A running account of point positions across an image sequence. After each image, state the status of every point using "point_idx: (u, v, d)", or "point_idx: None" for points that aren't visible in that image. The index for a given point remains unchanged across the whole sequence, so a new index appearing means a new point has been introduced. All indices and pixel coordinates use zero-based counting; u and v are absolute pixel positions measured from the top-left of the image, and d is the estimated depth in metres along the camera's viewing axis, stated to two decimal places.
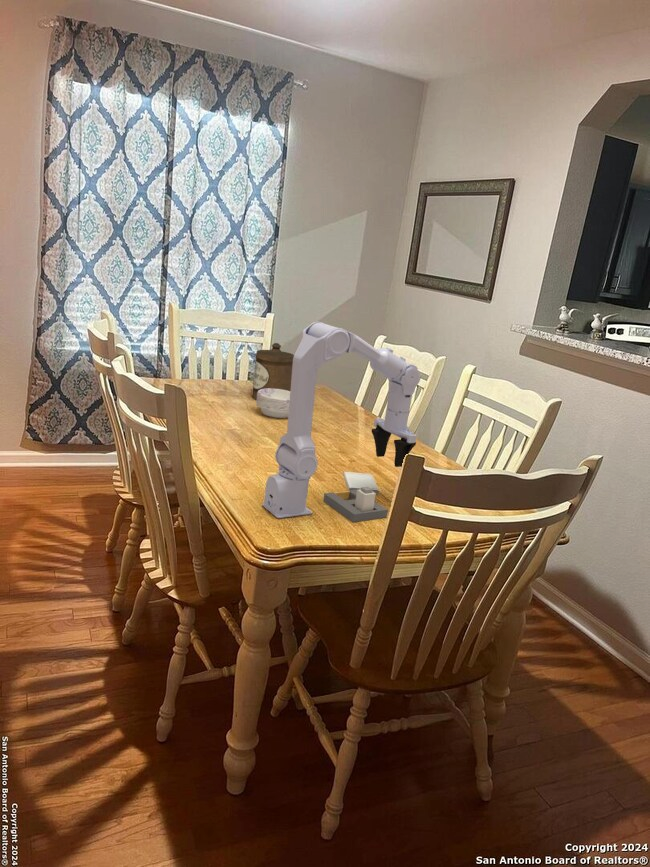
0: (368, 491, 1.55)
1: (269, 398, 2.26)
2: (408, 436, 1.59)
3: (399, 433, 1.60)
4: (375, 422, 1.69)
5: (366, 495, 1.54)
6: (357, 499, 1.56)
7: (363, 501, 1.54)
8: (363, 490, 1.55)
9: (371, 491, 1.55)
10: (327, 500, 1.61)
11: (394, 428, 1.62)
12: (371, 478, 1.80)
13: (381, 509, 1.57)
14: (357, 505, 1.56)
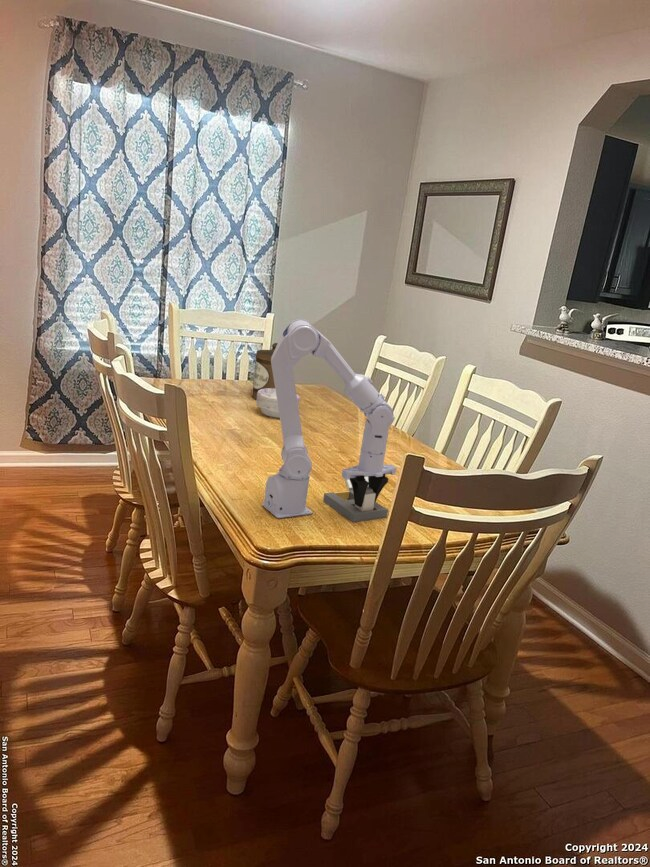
0: (368, 491, 1.55)
1: (269, 398, 2.26)
2: None
3: None
4: None
5: (366, 495, 1.54)
6: None
7: (363, 501, 1.54)
8: None
9: (371, 491, 1.55)
10: (327, 500, 1.61)
11: None
12: None
13: (381, 509, 1.57)
14: None
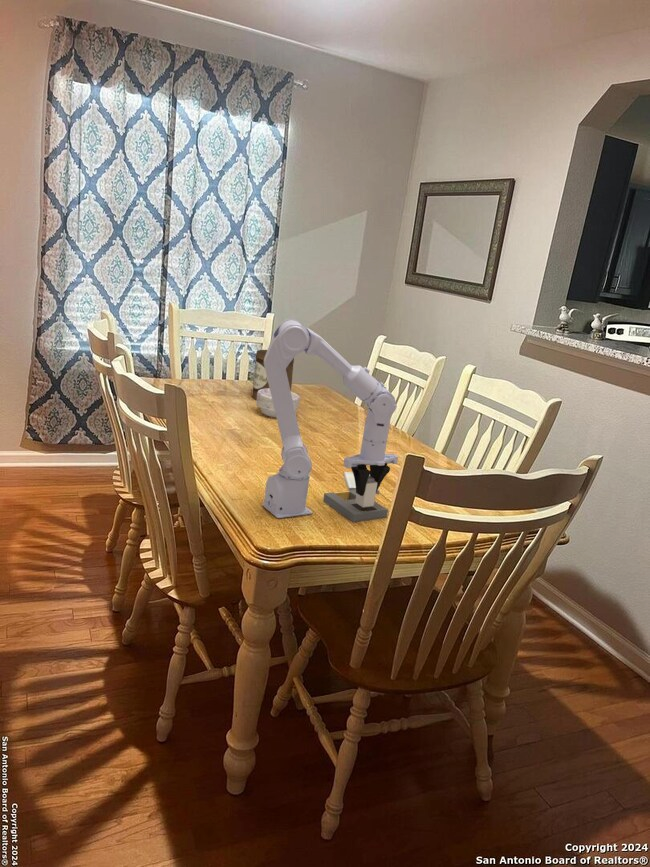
0: (370, 480, 1.54)
1: (269, 398, 2.26)
2: None
3: None
4: None
5: (368, 484, 1.53)
6: None
7: None
8: None
9: (373, 480, 1.54)
10: (327, 500, 1.61)
11: (360, 453, 1.54)
12: None
13: (381, 509, 1.57)
14: None
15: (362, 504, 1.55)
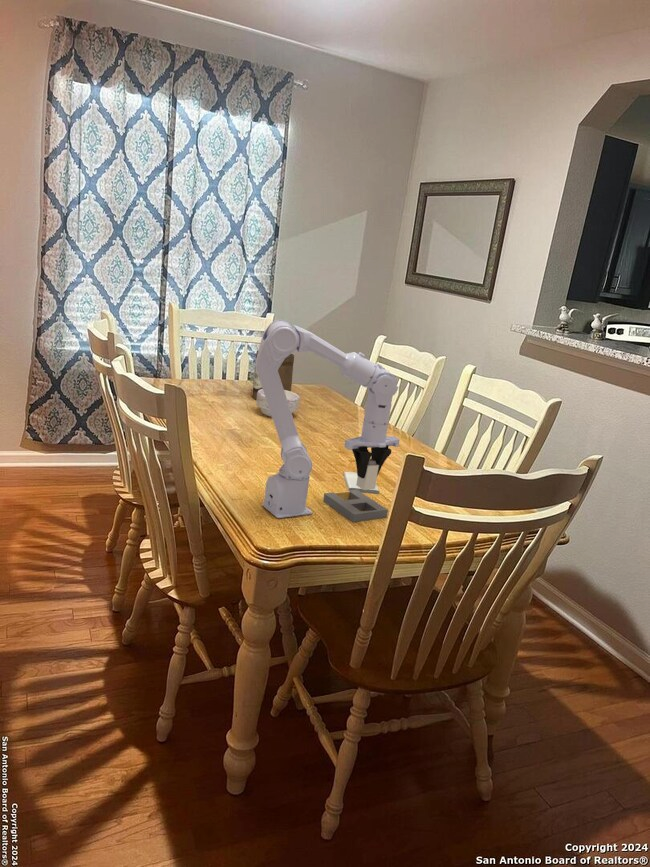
0: (371, 462, 1.53)
1: None
2: None
3: None
4: None
5: (369, 466, 1.52)
6: None
7: None
8: None
9: (374, 463, 1.54)
10: (327, 500, 1.61)
11: (361, 436, 1.53)
12: None
13: (381, 509, 1.57)
14: (360, 477, 1.55)
15: (363, 487, 1.54)
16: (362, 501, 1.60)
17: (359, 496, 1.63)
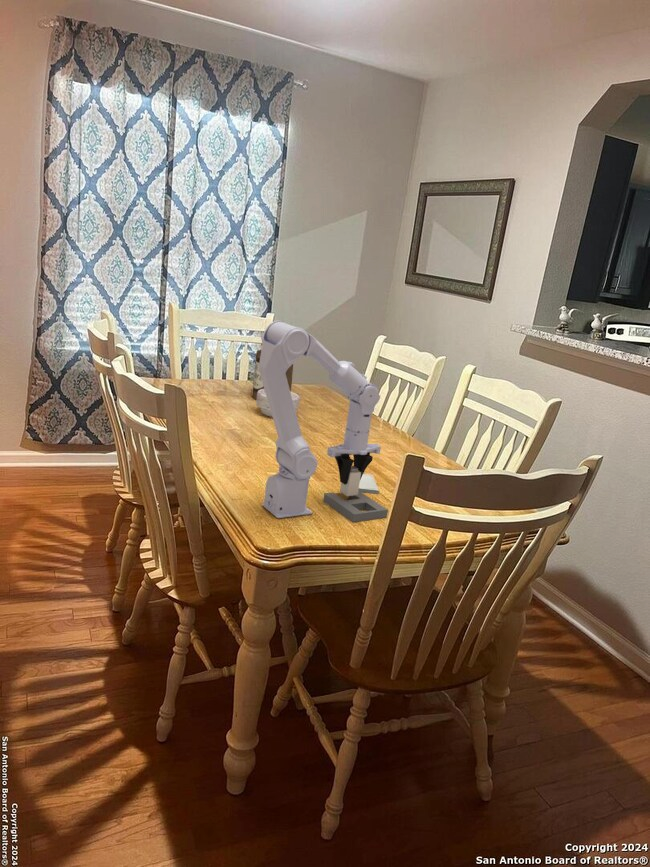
0: (354, 470, 1.59)
1: None
2: None
3: None
4: None
5: (352, 473, 1.58)
6: None
7: (348, 480, 1.59)
8: None
9: (356, 470, 1.60)
10: (327, 500, 1.61)
11: None
12: (371, 478, 1.80)
13: (381, 509, 1.57)
14: None
15: (346, 493, 1.60)
16: (362, 501, 1.60)
17: (359, 496, 1.63)
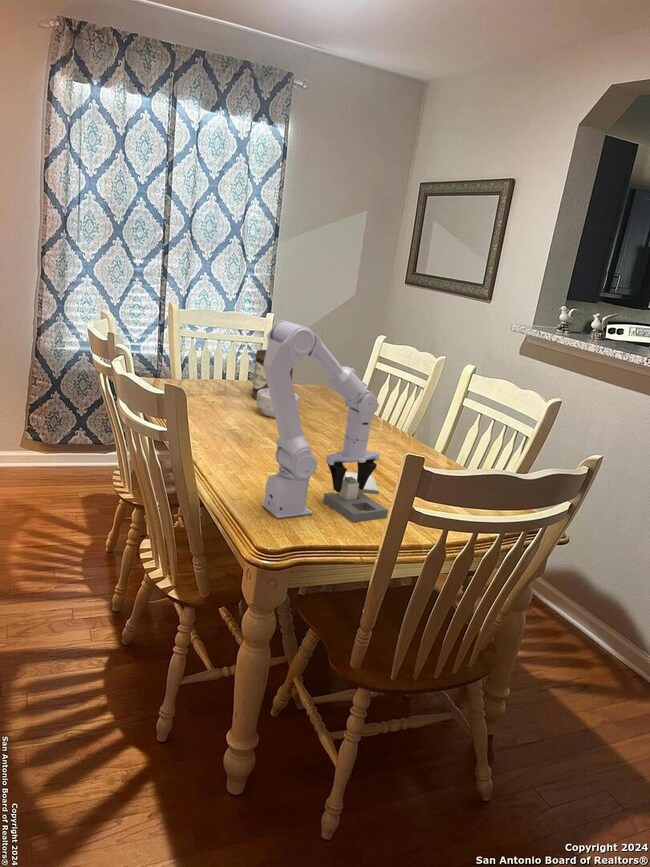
0: (352, 481, 1.60)
1: (269, 398, 2.26)
2: None
3: None
4: None
5: (350, 484, 1.59)
6: (341, 488, 1.61)
7: (346, 491, 1.60)
8: (347, 480, 1.60)
9: (354, 481, 1.61)
10: (327, 500, 1.61)
11: (342, 451, 1.60)
12: (371, 478, 1.80)
13: (381, 509, 1.57)
14: (341, 494, 1.62)
15: None
16: (362, 501, 1.60)
17: (359, 496, 1.63)
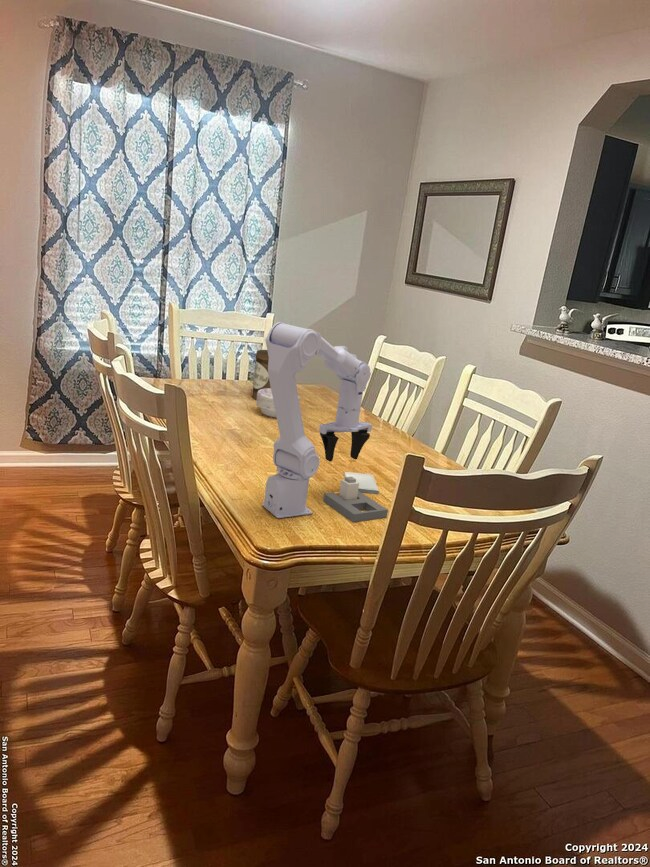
0: (351, 481, 1.60)
1: (269, 398, 2.26)
2: None
3: None
4: None
5: (349, 484, 1.59)
6: (341, 488, 1.61)
7: (346, 491, 1.60)
8: (347, 480, 1.60)
9: (354, 481, 1.61)
10: (327, 500, 1.61)
11: (335, 421, 1.63)
12: (371, 478, 1.80)
13: (381, 509, 1.57)
14: (341, 494, 1.62)
15: None
16: (362, 501, 1.60)
17: (359, 496, 1.63)
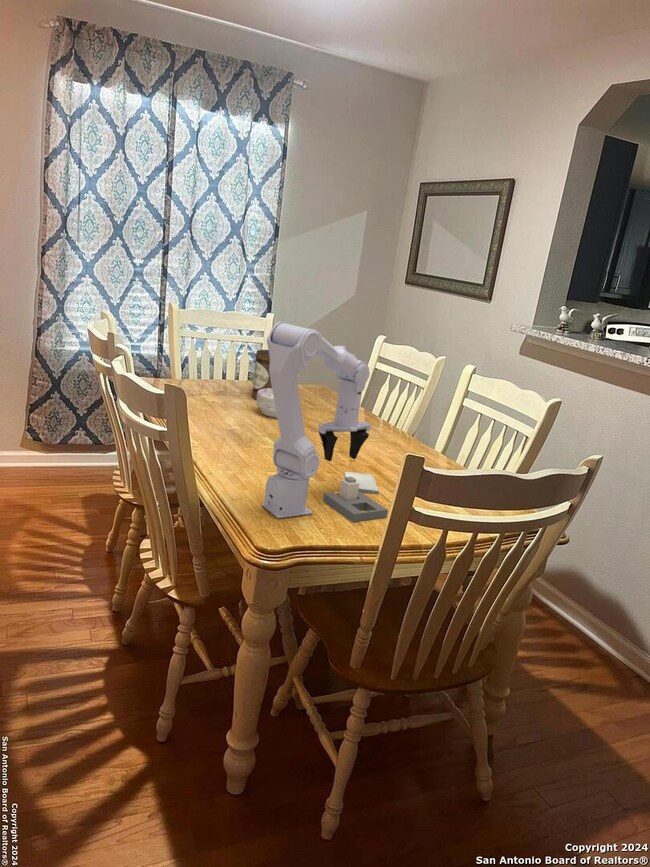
0: (352, 481, 1.60)
1: (269, 398, 2.26)
2: None
3: None
4: None
5: (350, 484, 1.59)
6: (341, 488, 1.61)
7: (346, 491, 1.60)
8: (347, 480, 1.60)
9: (355, 481, 1.61)
10: (327, 500, 1.61)
11: (334, 421, 1.64)
12: (372, 479, 1.80)
13: (381, 509, 1.57)
14: (341, 494, 1.62)
15: None
16: (362, 501, 1.60)
17: (359, 496, 1.63)
